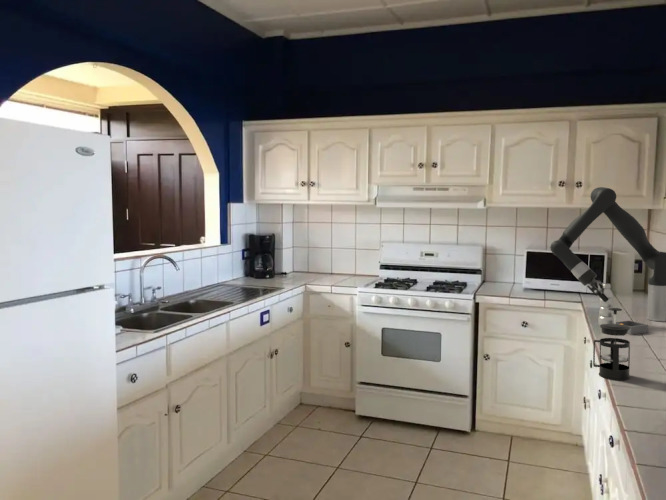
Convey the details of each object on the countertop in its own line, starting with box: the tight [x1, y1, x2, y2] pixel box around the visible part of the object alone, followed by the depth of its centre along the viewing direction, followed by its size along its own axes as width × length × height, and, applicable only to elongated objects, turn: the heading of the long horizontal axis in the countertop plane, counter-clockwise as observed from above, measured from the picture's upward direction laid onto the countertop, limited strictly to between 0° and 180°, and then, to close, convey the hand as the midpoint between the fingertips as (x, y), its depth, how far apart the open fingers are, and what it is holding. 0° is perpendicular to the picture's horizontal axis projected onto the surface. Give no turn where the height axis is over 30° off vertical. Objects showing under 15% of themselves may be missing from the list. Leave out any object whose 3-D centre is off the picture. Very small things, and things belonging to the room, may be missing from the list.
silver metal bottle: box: [597, 282, 615, 326], centre depth 261 cm, size 6×7×20 cm
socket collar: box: [612, 320, 649, 336], centre depth 251 cm, size 10×10×4 cm
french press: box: [592, 307, 631, 381], centre depth 187 cm, size 12×9×23 cm
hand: (609, 299), depth 260 cm, fingers open, 8 cm apart
